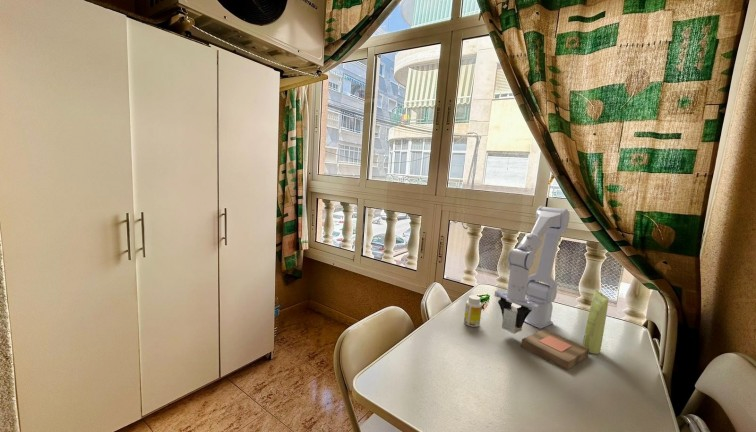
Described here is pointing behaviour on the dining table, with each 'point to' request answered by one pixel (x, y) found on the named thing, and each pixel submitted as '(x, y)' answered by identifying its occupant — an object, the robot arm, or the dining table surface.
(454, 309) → the dining table surface
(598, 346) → the tube
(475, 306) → the supplement bottle
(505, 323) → the steel column
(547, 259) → the robot arm
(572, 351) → the board
